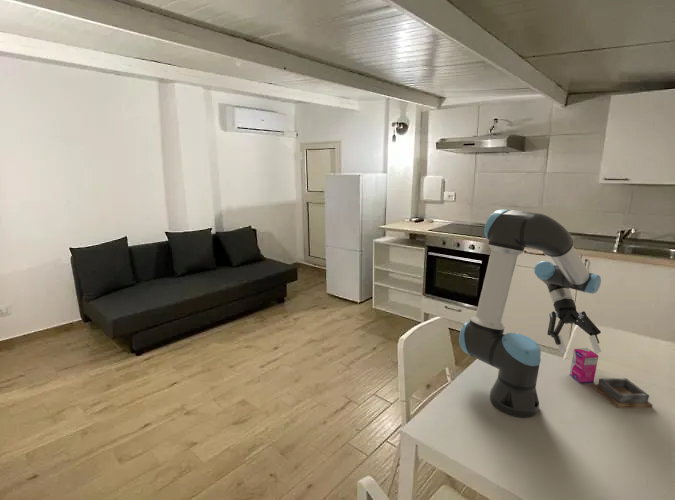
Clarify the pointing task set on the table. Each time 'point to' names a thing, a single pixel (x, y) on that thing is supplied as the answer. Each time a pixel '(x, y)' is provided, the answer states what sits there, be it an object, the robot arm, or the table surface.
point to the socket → (623, 393)
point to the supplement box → (583, 365)
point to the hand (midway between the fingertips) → (580, 352)
